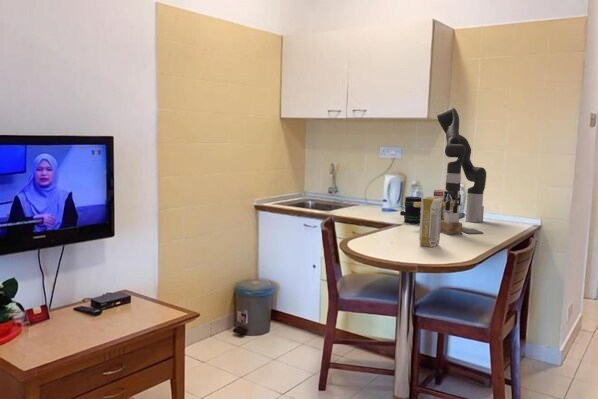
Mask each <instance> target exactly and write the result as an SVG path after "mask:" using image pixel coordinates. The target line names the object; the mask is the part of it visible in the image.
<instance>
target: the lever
mask: <svg viewBox="0 0 598 399" xmlns="http://www.w3.org/2000/svg"><path fill="white" fill-rule="evenodd" d="M441 203H442V207H441V218H443V207H445V202H441ZM413 207H421V202H414V205H413Z"/></svg>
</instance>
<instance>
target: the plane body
mask: <svg viewBox="0 0 598 399" xmlns="http://www.w3.org/2000/svg"><path fill="white" fill-rule="evenodd" d="M462 229H463V223H462V222H460V221H459V223H447V222H444V217H443V218H441V225H440V233H442V234H444V235H447V236H458V235H459V236H462V235H463V233H464V232H462Z"/></svg>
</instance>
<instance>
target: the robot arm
mask: <svg viewBox="0 0 598 399" xmlns="http://www.w3.org/2000/svg"><path fill="white" fill-rule="evenodd" d="M436 118H437V121H438V123H439V125H440V126H441V129H442V130H443V132H444V133H445V139H446V145H445V150H444V153H445V154H444V155H445V157H447V158H456V160H455V161H449V162H447V168H446V171H447V172H446V177H445V188H444V189H446V190H447V191H445V192H444V202H445V203H446V209H445V210H446V211H449V210H450V202H452V203H453V213H457V209H458V206H459V207H460V206H461V198H462V194H461V193H460V194H458V193H457V192H458V191H460V192H461V185H462V184H461V181H462V174H461V173H462V171H463V174H464V177H465V178H466V180H467V181H469V182H471V183H473V185H472V186H471V187H468V188H467V192H466V194H467V196H466V208H465V209H466V210H465V221H466V222H469V223H484V212H485V211H484V210H485V207H484V205H483V203H484V191H485V189H486V183H487V171H486V169H485V168H484V167H481V166H474V165H473V163H472V161H471V155H472V148H471V145H470V143H469V141H468V139H467V138H466V137H464V135H461V134H460V117H459V113H458V111H457V109H456V108H455V107H451V108H448V109H445V110H443V111H441V112H438V114H437V117H436ZM458 201H459V203H458Z"/></svg>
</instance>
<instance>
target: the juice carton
mask: <svg viewBox="0 0 598 399" xmlns="http://www.w3.org/2000/svg"><path fill="white" fill-rule="evenodd" d="M432 196H433V195H426V196H425V198H424V197H423V198H422V199H421V200H422V202H421V217H420V223H419V237H418V238H419V246H421V245H423V246H422V247H426V246H429V247H428V248H433V246H434V247H436V245H437V246H438V245H439V244H440V241H441V240H440V239H441V232H440V225H441V207H442V203H441V198H433V197H434V196H433V197H432Z"/></svg>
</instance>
